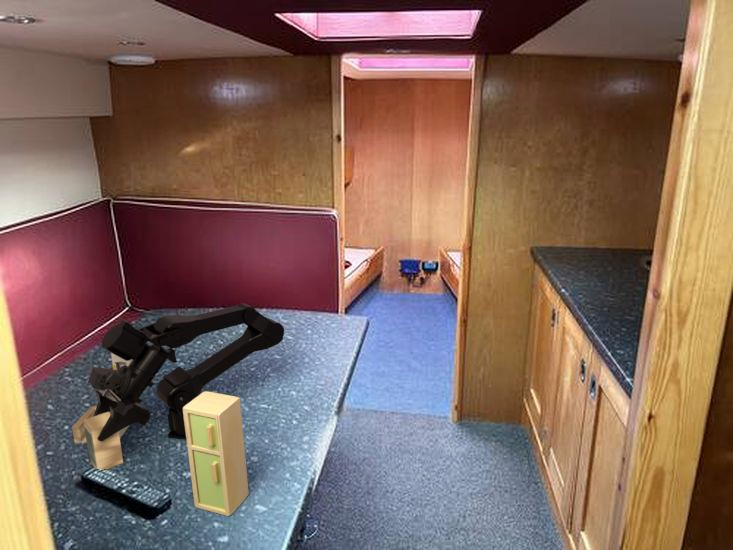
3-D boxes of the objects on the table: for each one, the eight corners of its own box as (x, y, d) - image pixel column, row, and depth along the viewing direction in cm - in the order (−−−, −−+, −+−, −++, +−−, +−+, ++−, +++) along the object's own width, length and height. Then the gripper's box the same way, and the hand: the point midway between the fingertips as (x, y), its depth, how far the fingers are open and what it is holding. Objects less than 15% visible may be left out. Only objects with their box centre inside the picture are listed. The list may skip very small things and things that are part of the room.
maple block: (115, 452, 120) (108, 411, 118) (123, 462, 117) (117, 420, 114) (89, 462, 117) (82, 420, 114) (97, 473, 114) (90, 429, 111)
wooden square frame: (133, 420, 134) (131, 405, 132) (117, 442, 124) (115, 426, 123) (93, 420, 133) (91, 405, 132) (74, 443, 124) (72, 427, 123)
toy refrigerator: (190, 510, 103) (179, 408, 97) (214, 486, 109) (205, 389, 104) (227, 520, 100) (217, 416, 94) (249, 495, 107) (241, 397, 101)
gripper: (96, 339, 120) (47, 403, 116) (127, 367, 106) (74, 439, 102) (137, 362, 127) (93, 423, 123) (171, 391, 114) (123, 459, 110)
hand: (95, 435), depth 114 cm, fingers closed on maple block, 5 cm apart
